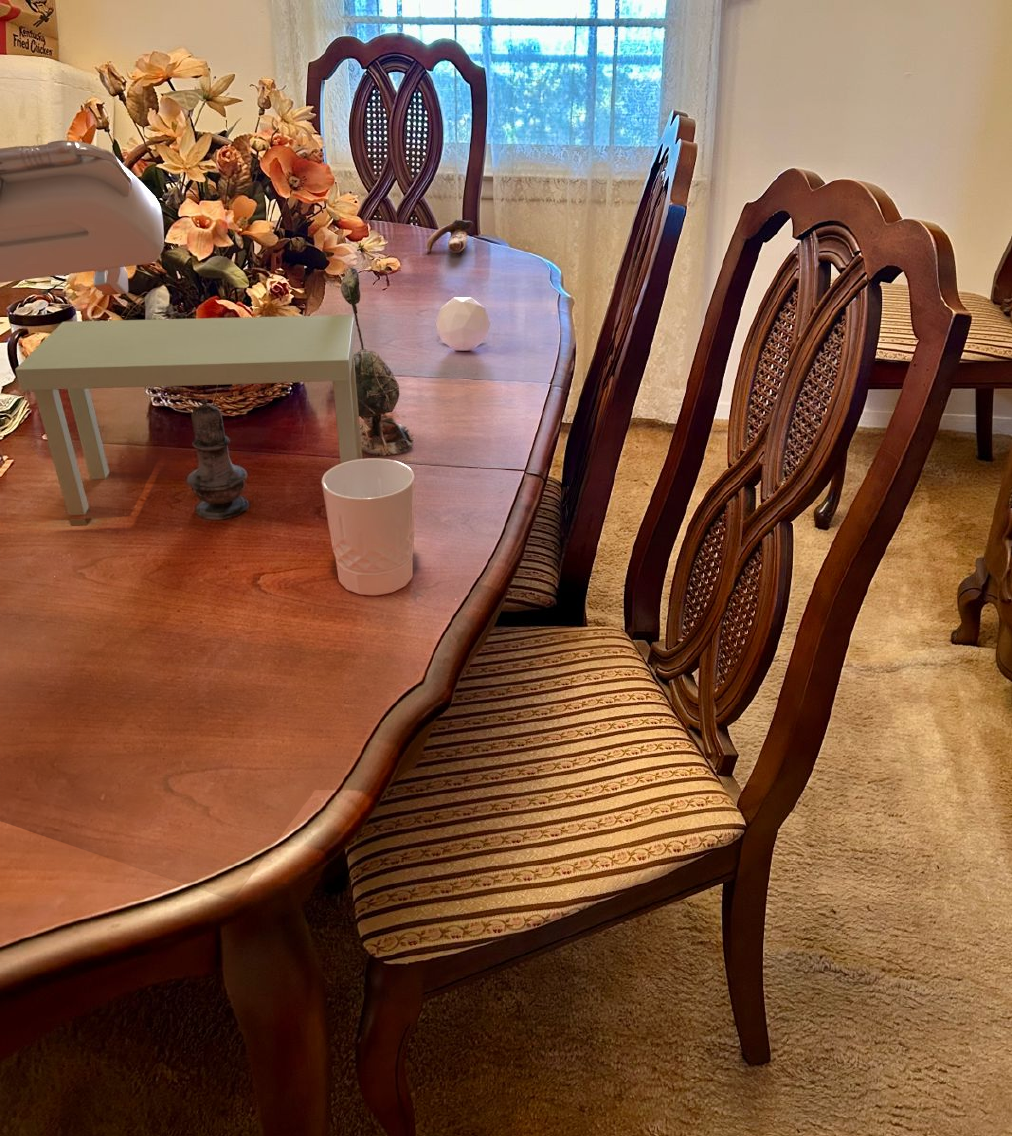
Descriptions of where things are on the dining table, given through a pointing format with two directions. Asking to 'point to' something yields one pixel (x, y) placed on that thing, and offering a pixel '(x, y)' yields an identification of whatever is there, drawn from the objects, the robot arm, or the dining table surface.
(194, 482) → the salt shaker
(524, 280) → the dining table surface
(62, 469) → the side table
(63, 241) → the robot arm
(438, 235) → the lashed bone hook
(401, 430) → the plant with pod
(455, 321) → the geometric ball
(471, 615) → the dining table surface
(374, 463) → the white cup
